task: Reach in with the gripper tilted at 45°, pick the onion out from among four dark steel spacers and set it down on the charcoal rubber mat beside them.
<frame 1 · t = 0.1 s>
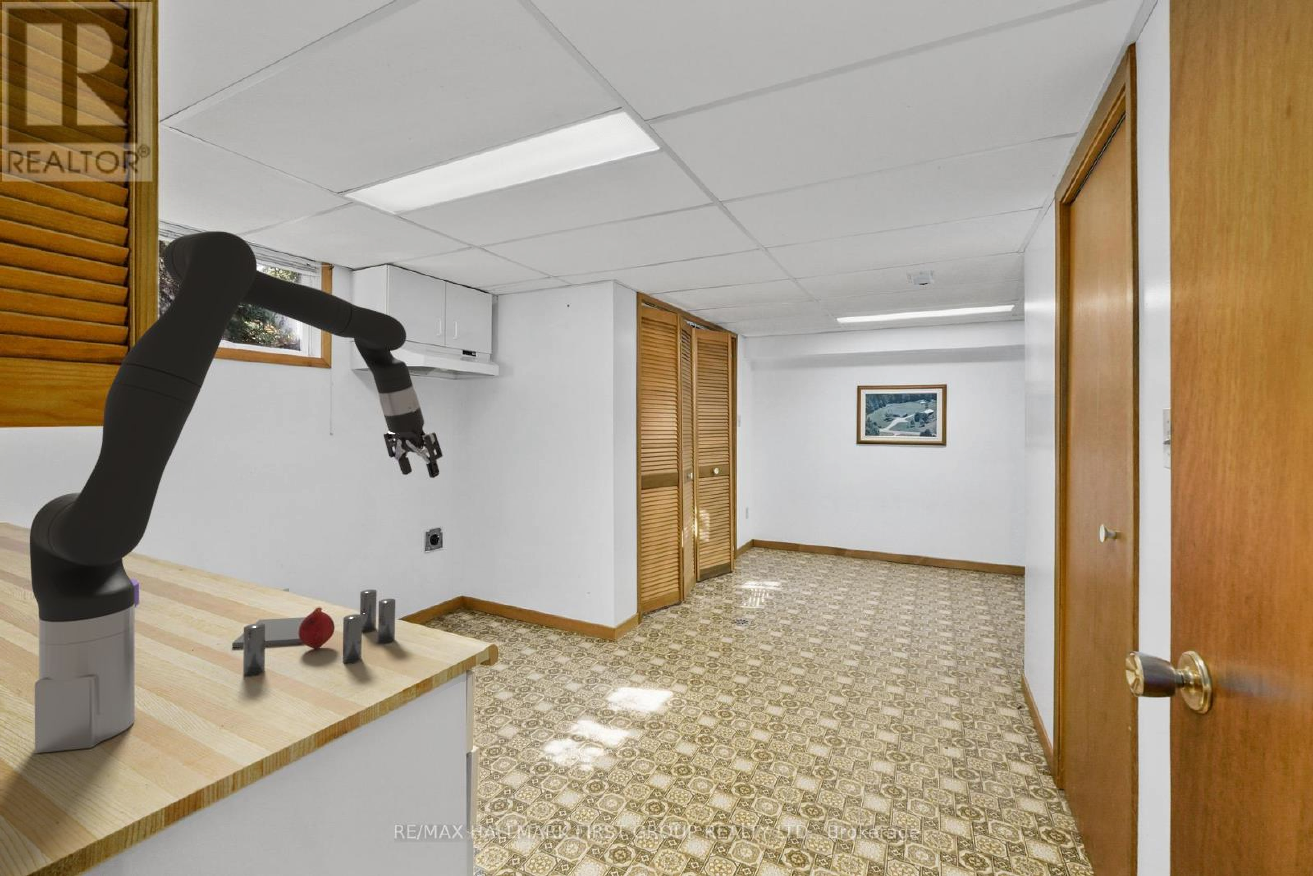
hand: (421, 474, 127), 31 cm above the worktop, tool tilted 20°, fingers open, 8 cm apart
onion: (316, 649, 105), on the worktop
mat: (281, 633, 112), on the worktop
spacer field: (316, 648, 105), on the worktop
tape roll: (102, 609, 122), on the worktop
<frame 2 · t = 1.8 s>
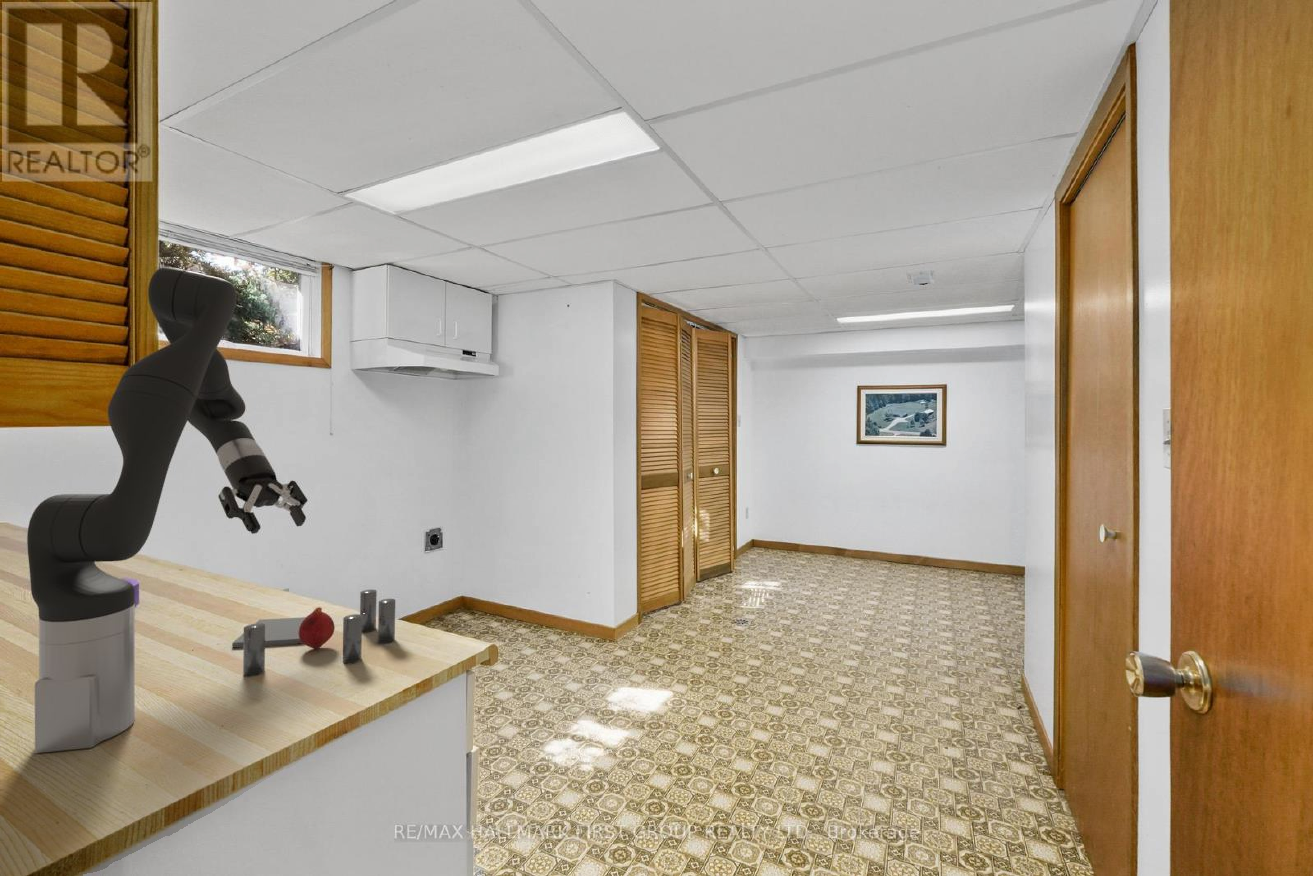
hand: (280, 527, 109), 22 cm above the worktop, tool tilted 45°, fingers open, 8 cm apart
nothing on the worktop moved.
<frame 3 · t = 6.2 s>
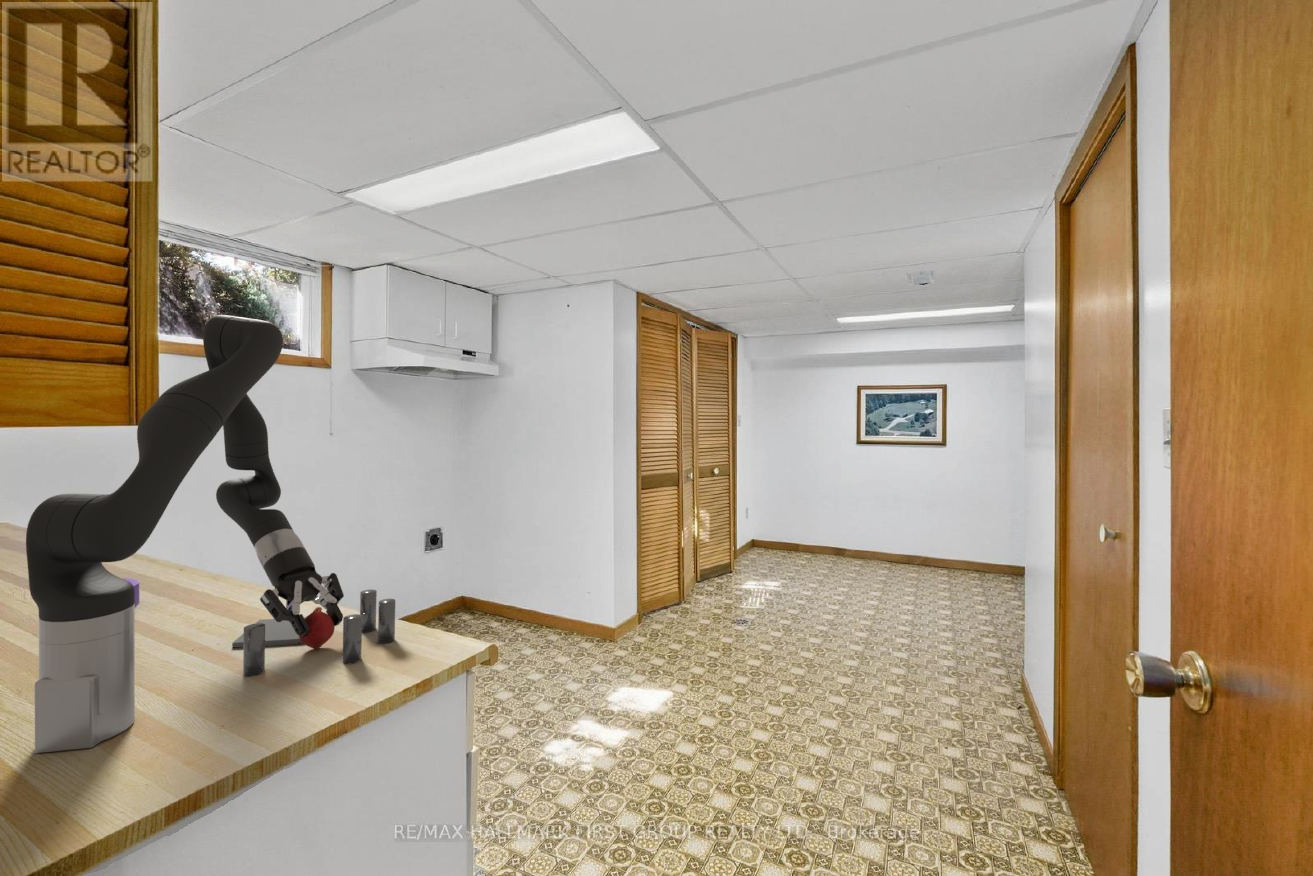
hand: (322, 628, 104), 4 cm above the worktop, tool tilted 45°, fingers closed on onion, 5 cm apart
onion: (316, 649, 105), on the worktop, touching gripper
everything else where it was.
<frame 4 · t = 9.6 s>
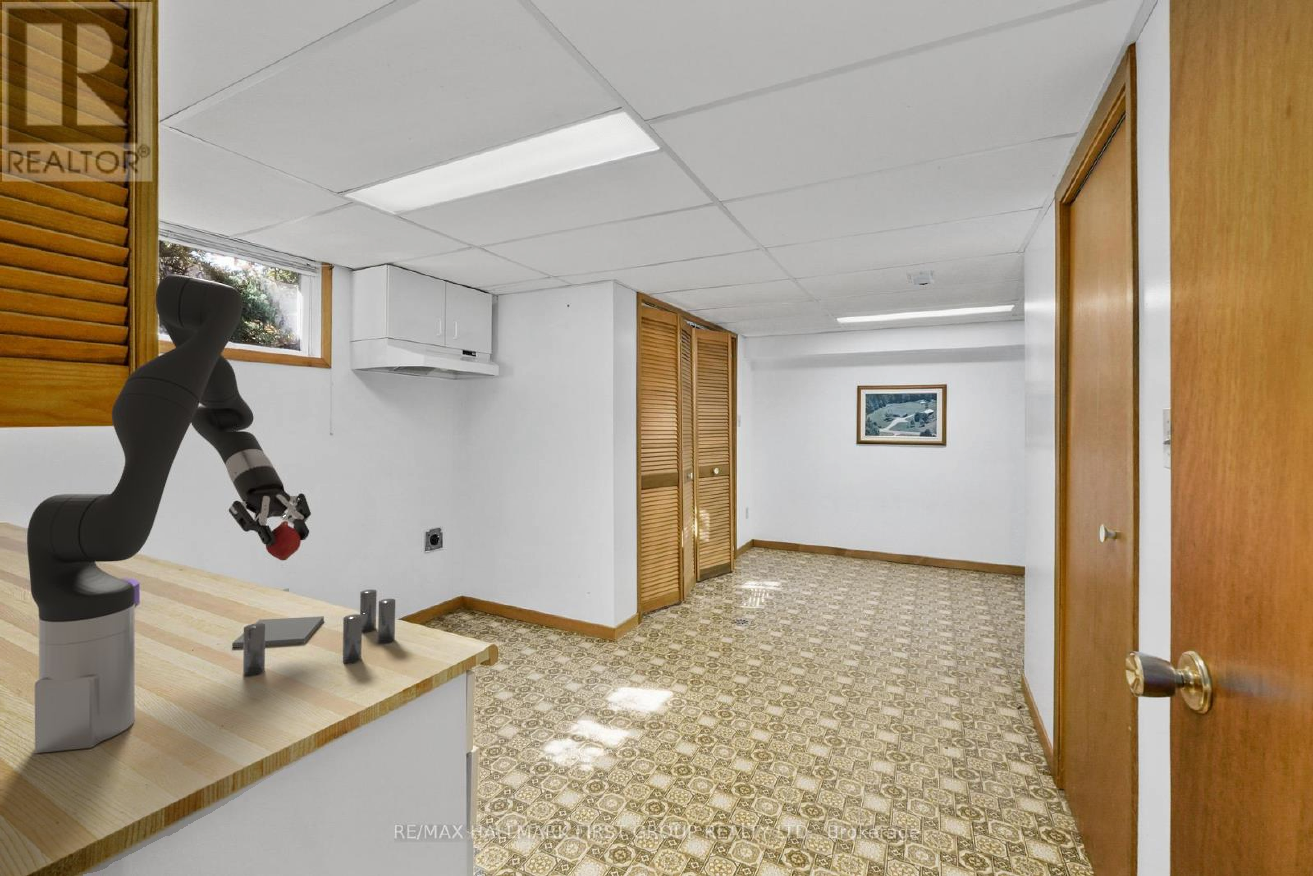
hand: (289, 540, 110), 19 cm above the worktop, tool tilted 45°, fingers closed on onion, 5 cm apart
onion: (283, 561, 111), point 15 cm above the worktop, touching gripper
everything else where it was.
when the fingers open (7 cm above the worktop, at t = 13.2 s): onion drops 1 cm, resting on mat.
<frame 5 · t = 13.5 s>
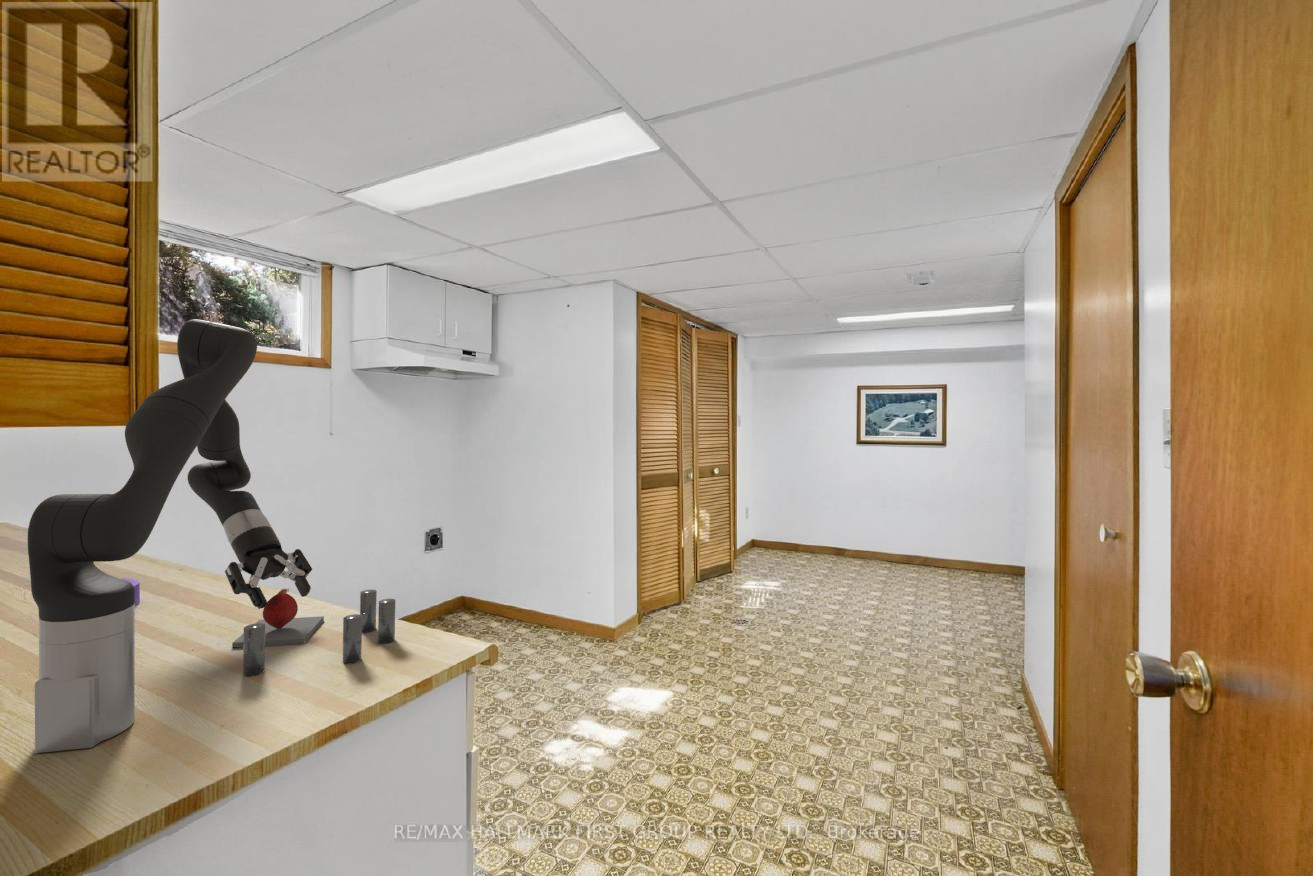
hand: (285, 600, 111), 7 cm above the worktop, tool tilted 45°, fingers open, 8 cm apart
onion: (278, 629, 111), point 1 cm above the worktop, touching mat
everything else where it was.
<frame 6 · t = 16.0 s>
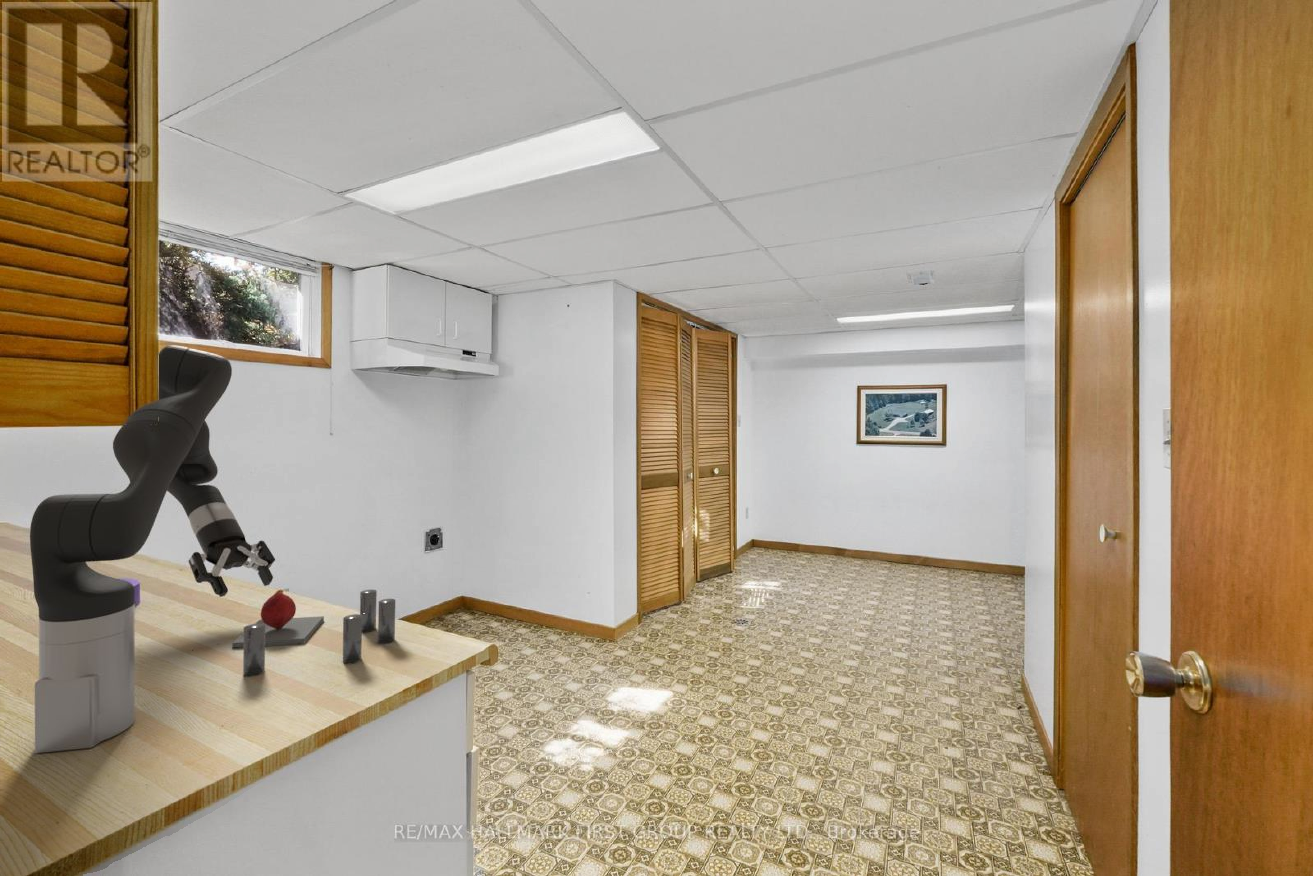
hand: (247, 588, 116), 7 cm above the worktop, tool tilted 45°, fingers open, 8 cm apart
nothing on the worktop moved.
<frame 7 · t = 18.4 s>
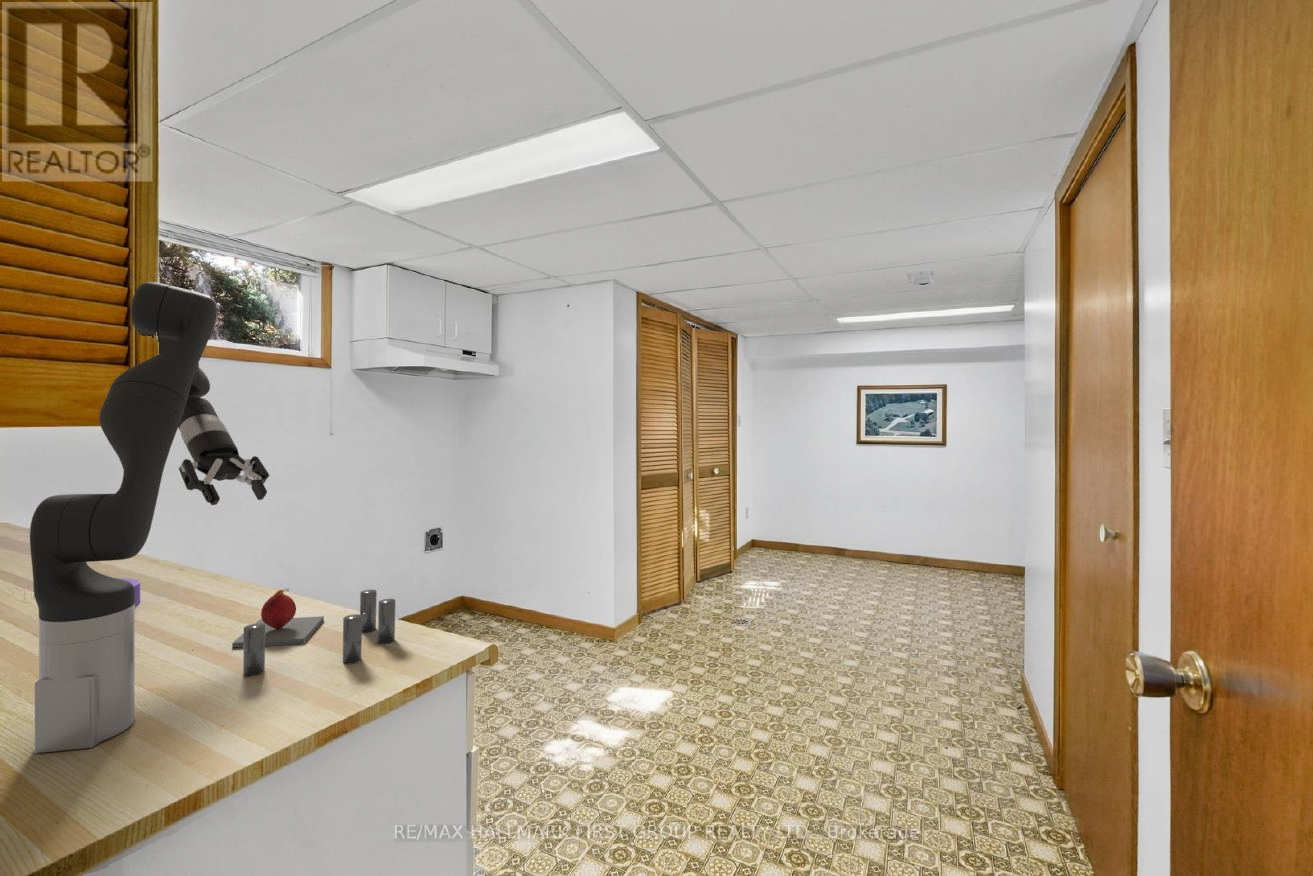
hand: (240, 499, 112), 27 cm above the worktop, tool tilted 45°, fingers open, 8 cm apart
nothing on the worktop moved.
at the end: onion inside the target area on the mat (0.4 cm from its centre), point 0.8 cm above the mat's base; the gripper is holding nothing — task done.
